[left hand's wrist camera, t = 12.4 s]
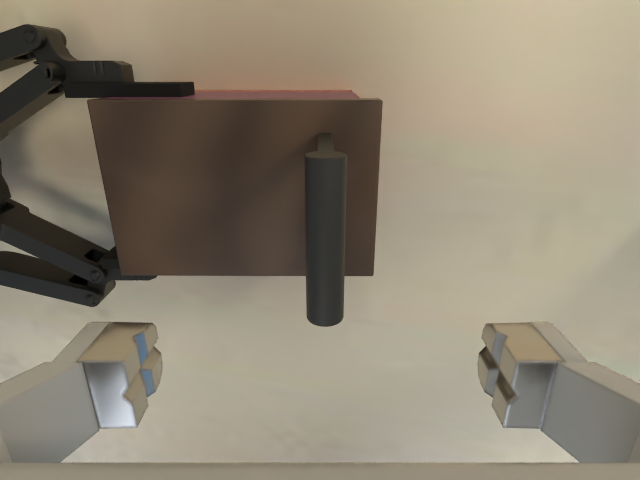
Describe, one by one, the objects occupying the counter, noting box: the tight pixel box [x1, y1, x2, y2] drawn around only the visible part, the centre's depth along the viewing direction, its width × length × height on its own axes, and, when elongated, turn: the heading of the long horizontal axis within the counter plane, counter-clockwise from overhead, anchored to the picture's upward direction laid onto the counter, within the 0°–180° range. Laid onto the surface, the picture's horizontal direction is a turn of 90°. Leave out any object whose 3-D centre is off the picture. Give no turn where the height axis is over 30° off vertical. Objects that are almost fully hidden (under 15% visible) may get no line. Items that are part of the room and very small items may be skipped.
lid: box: [87, 98, 382, 327], centre depth 20 cm, size 15×10×9 cm, turn 90°
